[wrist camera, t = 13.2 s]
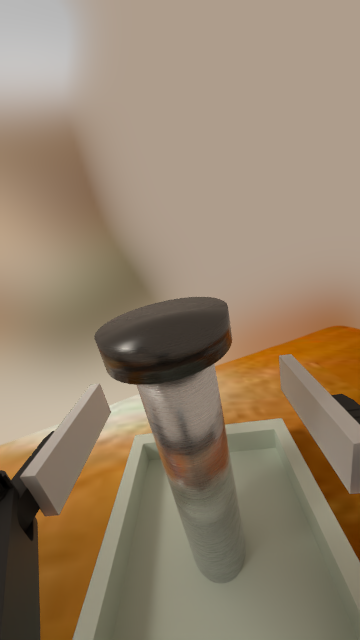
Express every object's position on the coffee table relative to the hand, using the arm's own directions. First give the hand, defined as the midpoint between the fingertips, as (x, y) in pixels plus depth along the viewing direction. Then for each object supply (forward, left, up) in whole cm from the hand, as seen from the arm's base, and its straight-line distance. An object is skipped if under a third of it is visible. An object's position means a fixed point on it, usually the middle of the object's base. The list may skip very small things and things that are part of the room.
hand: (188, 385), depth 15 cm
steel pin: (0, -3, -11) cm, 12 cm away
